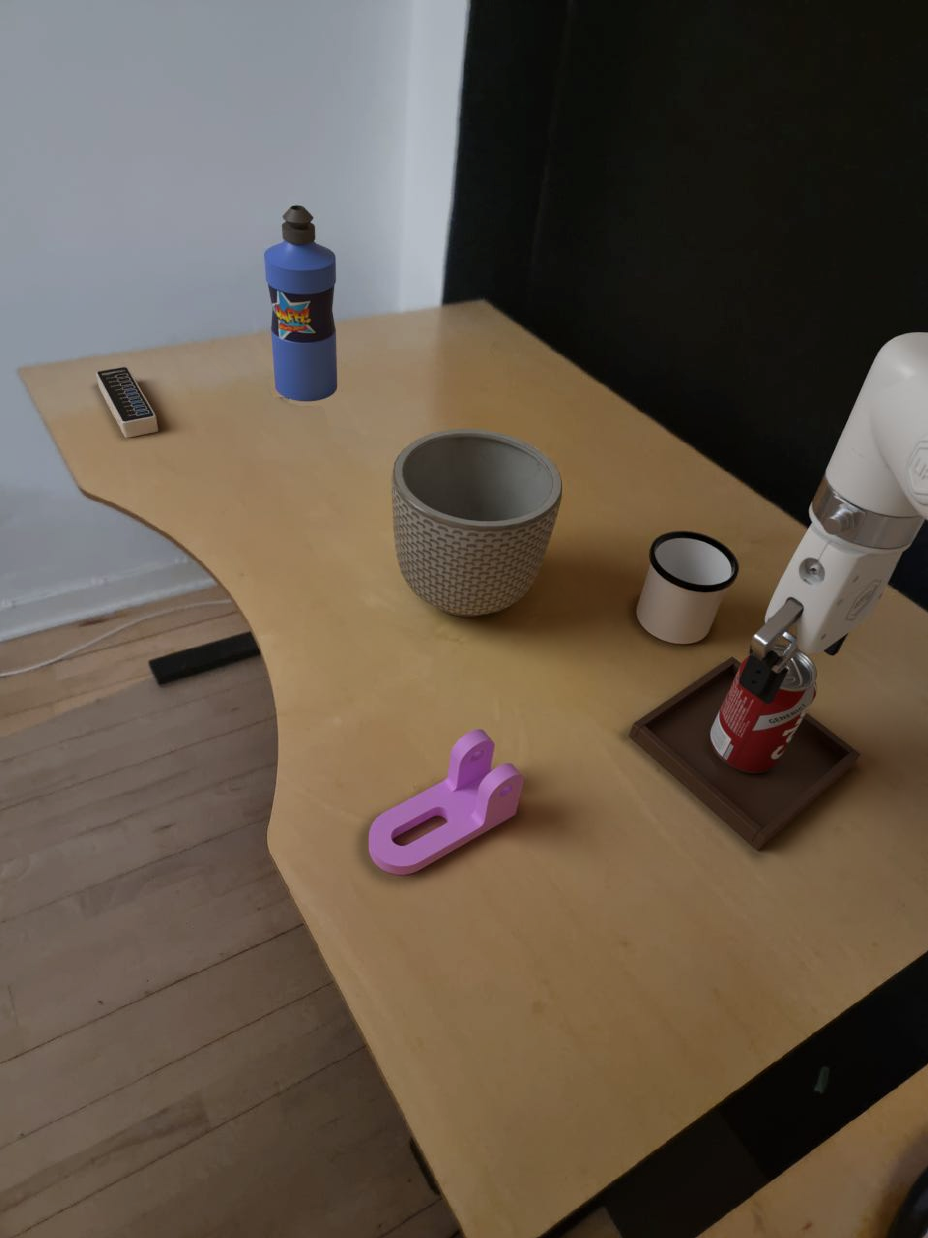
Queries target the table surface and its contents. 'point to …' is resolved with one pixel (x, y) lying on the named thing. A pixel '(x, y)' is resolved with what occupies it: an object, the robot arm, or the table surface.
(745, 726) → the soda can
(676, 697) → the tray
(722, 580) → the mug
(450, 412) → the table surface
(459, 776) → the bracket
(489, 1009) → the table surface
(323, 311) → the water bottle
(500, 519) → the planter
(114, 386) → the multiport hub
